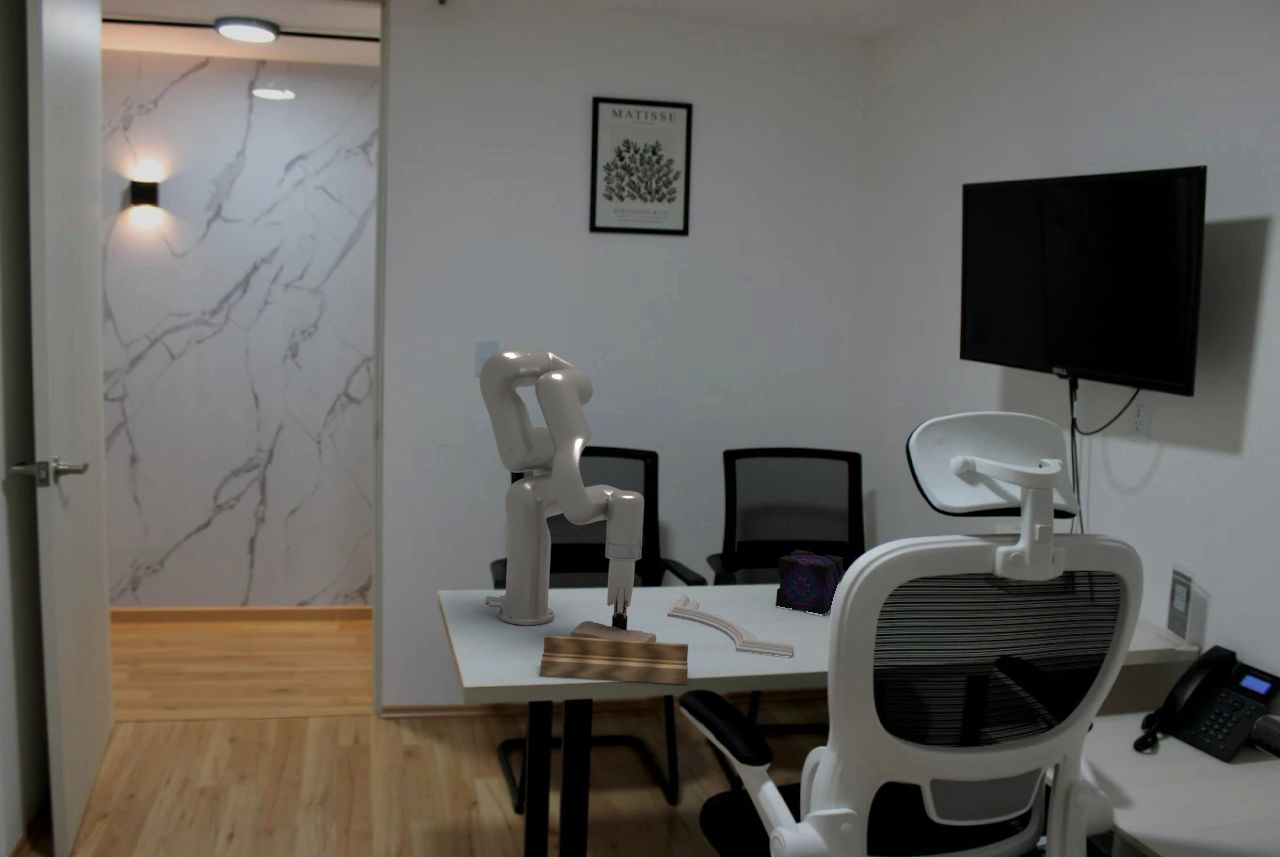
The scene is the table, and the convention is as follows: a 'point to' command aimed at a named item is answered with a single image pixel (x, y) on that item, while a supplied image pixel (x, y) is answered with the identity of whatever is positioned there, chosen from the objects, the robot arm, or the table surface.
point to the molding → (728, 629)
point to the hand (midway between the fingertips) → (618, 634)
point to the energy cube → (808, 581)
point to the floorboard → (615, 659)
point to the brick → (610, 632)
